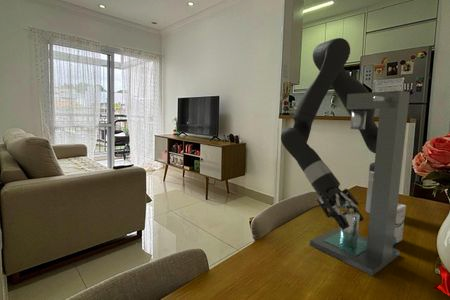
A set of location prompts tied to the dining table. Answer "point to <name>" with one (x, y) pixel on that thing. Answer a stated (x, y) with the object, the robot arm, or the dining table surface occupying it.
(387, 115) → the press
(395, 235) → the ink box
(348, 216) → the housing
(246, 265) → the dining table surface
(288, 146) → the robot arm
